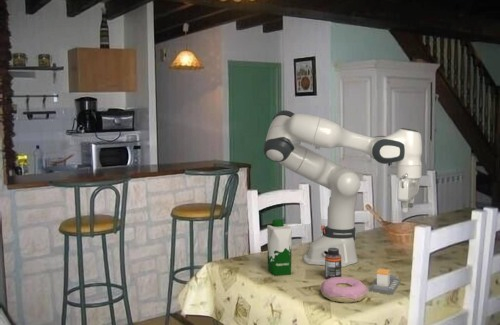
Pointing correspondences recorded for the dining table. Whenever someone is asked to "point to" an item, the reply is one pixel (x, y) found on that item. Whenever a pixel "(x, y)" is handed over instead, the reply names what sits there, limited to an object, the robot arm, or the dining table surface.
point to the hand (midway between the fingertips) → (408, 209)
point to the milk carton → (279, 248)
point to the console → (385, 289)
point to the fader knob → (383, 277)
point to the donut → (343, 289)
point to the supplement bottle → (332, 263)
